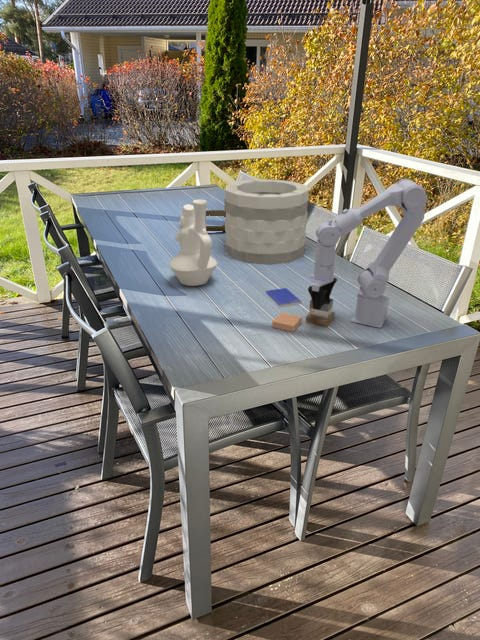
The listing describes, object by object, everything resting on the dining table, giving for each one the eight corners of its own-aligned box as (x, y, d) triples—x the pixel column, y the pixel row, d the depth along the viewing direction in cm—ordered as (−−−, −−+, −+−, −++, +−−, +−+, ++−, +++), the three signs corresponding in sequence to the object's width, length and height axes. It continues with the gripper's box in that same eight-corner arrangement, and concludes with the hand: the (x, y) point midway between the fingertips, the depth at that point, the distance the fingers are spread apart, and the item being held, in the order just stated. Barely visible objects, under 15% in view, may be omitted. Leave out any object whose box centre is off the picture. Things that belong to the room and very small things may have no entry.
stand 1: (301, 322, 156) (302, 317, 156) (293, 332, 151) (293, 326, 150) (281, 318, 159) (281, 312, 158) (272, 327, 154) (272, 321, 153)
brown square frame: (174, 233, 242) (174, 224, 240) (190, 216, 269) (190, 208, 267) (237, 236, 237) (237, 227, 235) (247, 219, 264) (247, 210, 262)
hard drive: (301, 301, 169) (286, 287, 179) (279, 304, 166) (265, 290, 177) (301, 305, 169) (286, 291, 180) (279, 308, 167) (265, 294, 177)
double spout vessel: (209, 270, 197) (207, 188, 182) (227, 291, 178) (226, 202, 164) (165, 276, 191) (159, 192, 177) (179, 298, 173) (173, 206, 158)
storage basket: (286, 235, 238) (288, 177, 226) (319, 259, 208) (324, 193, 196) (215, 243, 228) (214, 182, 216) (239, 269, 199) (239, 200, 186)
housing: (331, 313, 158) (333, 299, 156) (327, 319, 154) (328, 304, 152) (314, 309, 160) (315, 295, 158) (309, 315, 157) (310, 300, 154)
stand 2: (334, 317, 159) (334, 312, 159) (327, 326, 154) (327, 321, 153) (313, 313, 162) (313, 307, 161) (305, 322, 157) (306, 316, 156)
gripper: (320, 254, 157) (316, 293, 163) (303, 268, 145) (300, 310, 152) (341, 257, 154) (337, 297, 160) (326, 272, 143) (322, 315, 149)
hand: (321, 304), depth 156 cm, fingers open, 7 cm apart
